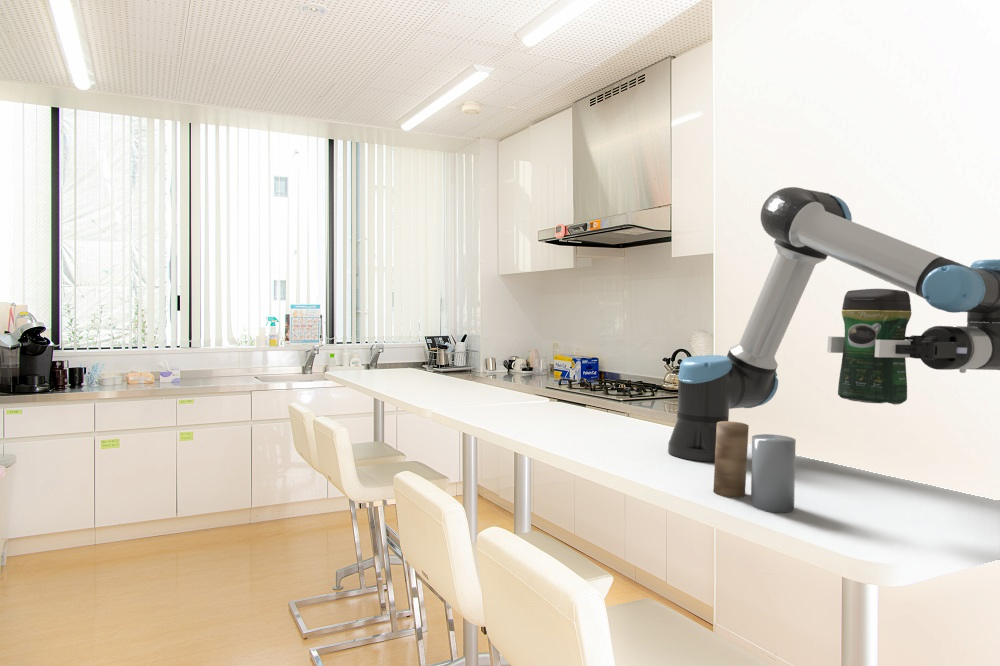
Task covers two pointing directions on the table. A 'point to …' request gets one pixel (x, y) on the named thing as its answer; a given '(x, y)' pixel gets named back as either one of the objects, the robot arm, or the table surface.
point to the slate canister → (773, 473)
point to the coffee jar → (873, 346)
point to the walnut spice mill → (730, 459)
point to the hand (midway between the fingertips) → (852, 346)
